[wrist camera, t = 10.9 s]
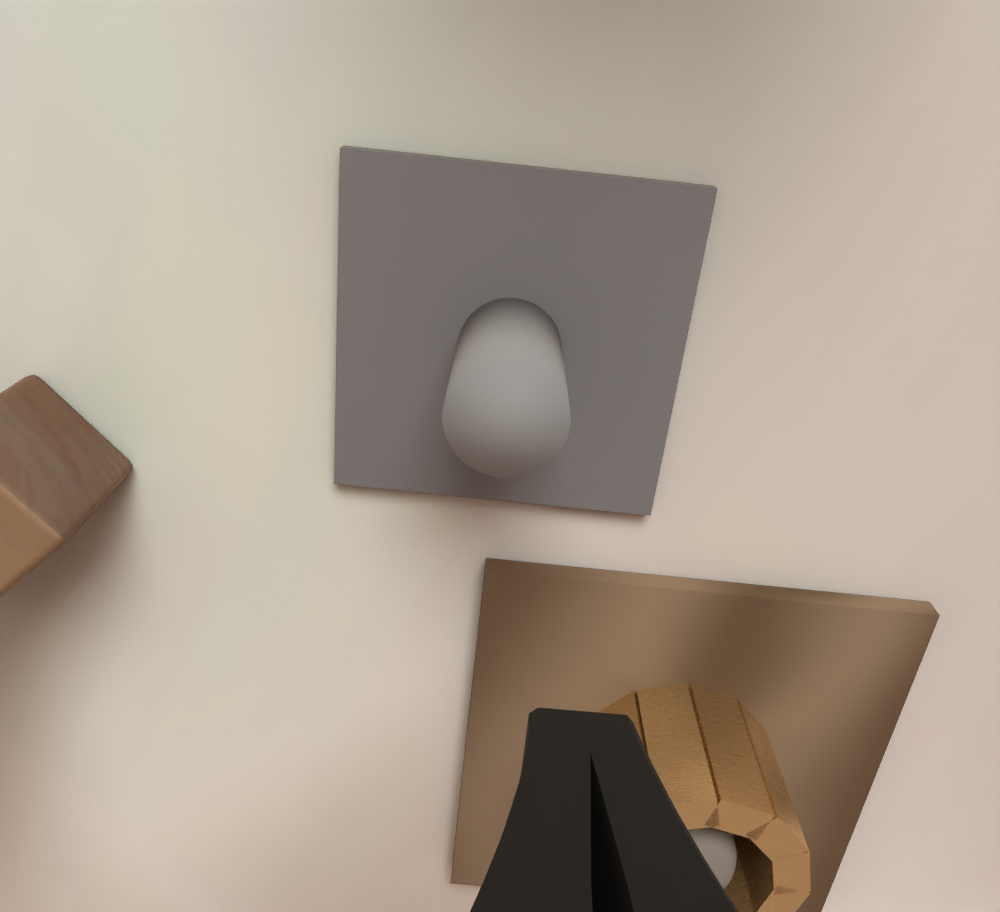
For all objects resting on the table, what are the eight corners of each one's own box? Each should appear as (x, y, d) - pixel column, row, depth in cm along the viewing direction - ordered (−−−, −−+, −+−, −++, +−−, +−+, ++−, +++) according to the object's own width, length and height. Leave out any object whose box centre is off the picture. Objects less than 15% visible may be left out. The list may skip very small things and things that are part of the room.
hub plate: (929, 601, 23) (1024, 731, 18) (813, 899, 28) (866, 1055, 24) (486, 558, 22) (477, 679, 18) (452, 866, 28) (438, 1018, 23)
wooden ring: (804, 772, 25) (852, 896, 21) (648, 855, 26) (667, 982, 23) (696, 653, 23) (728, 766, 19) (535, 749, 25) (537, 869, 21)
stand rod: (713, 186, 18) (769, 225, 14) (648, 507, 22) (677, 616, 18) (343, 145, 18) (290, 174, 14) (337, 476, 22) (293, 578, 17)
